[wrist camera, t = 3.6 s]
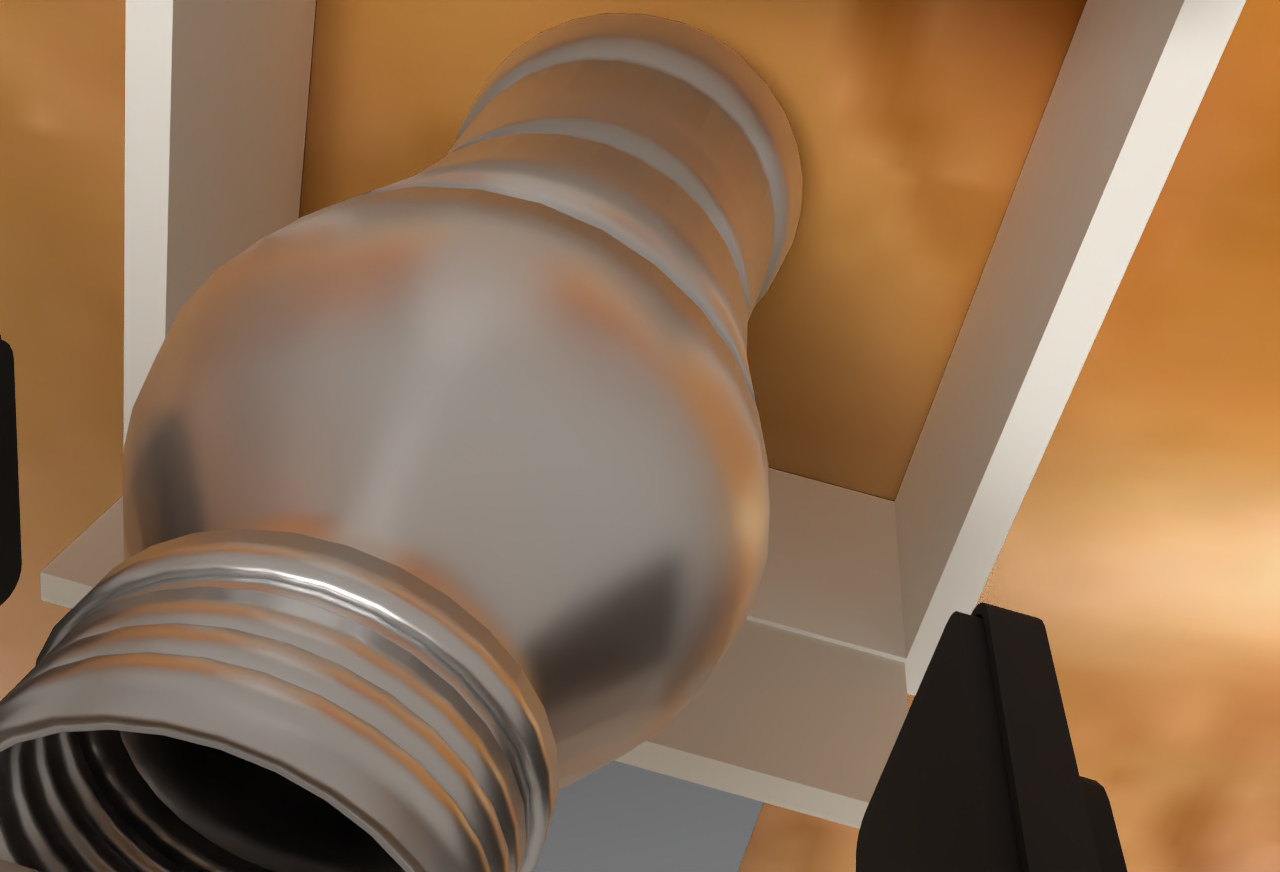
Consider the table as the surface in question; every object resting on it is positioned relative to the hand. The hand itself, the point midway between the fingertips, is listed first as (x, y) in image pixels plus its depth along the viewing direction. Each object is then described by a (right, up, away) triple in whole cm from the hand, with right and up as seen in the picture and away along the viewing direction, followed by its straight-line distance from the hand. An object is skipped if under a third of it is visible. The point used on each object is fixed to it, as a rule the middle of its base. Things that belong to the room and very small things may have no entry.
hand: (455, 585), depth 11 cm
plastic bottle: (+2, +7, +14) cm, 16 cm away
